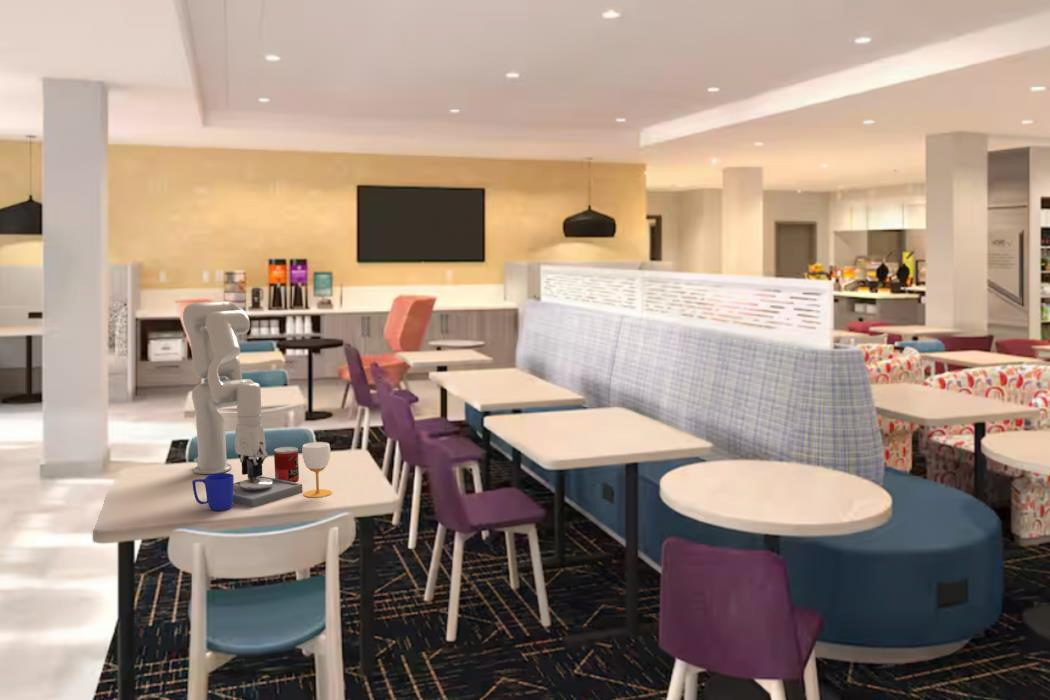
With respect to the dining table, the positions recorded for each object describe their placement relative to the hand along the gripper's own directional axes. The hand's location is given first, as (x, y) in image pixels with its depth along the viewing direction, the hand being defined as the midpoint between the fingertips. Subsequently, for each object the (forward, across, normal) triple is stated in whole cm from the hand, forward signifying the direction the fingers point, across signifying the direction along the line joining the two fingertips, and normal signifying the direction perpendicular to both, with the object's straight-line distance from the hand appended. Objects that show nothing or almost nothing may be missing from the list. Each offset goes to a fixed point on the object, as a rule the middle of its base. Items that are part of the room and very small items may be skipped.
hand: (252, 474), depth 290 cm
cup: (+5, +22, +7) cm, 24 cm away
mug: (+5, +8, -21) cm, 23 cm away
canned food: (+5, +2, +13) cm, 14 cm away
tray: (+5, +6, -4) cm, 9 cm away
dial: (+2, +5, -3) cm, 6 cm away
